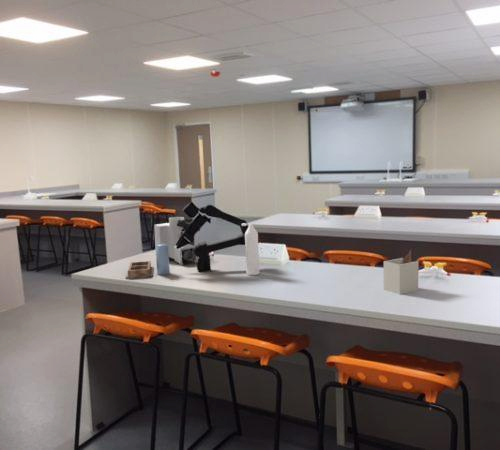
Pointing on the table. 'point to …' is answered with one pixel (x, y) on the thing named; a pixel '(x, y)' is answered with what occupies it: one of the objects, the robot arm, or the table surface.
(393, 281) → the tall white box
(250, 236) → the water bottle
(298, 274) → the table surface
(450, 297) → the table surface
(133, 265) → the wooden divided tray
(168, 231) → the electronic device
